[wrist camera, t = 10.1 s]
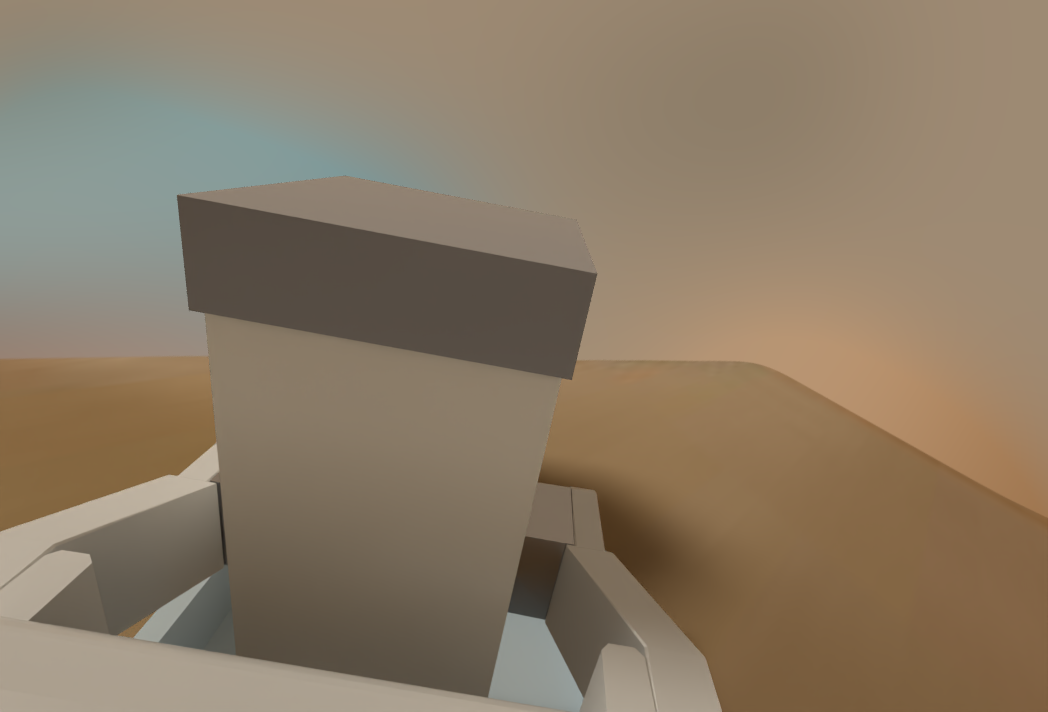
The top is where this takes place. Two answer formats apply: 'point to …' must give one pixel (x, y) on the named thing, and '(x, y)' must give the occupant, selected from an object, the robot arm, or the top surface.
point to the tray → (519, 675)
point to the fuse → (380, 414)
